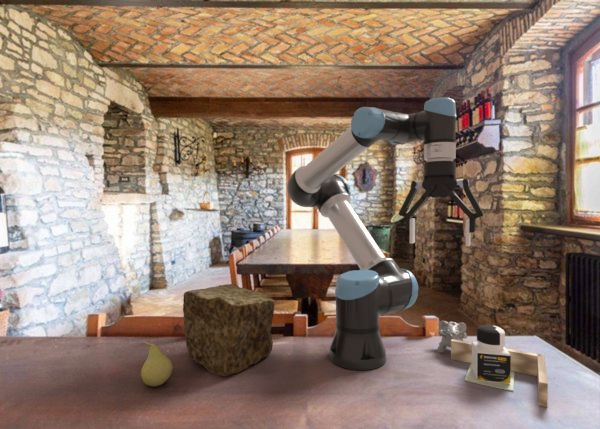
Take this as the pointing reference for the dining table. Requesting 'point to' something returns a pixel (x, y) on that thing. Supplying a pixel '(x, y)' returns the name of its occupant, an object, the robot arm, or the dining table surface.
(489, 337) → the medicine bottle
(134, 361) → the dining table surface
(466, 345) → the corner arena
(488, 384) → the pad
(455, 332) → the elephant statuette
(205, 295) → the decorative stone
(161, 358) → the fruit
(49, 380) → the dining table surface
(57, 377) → the dining table surface
